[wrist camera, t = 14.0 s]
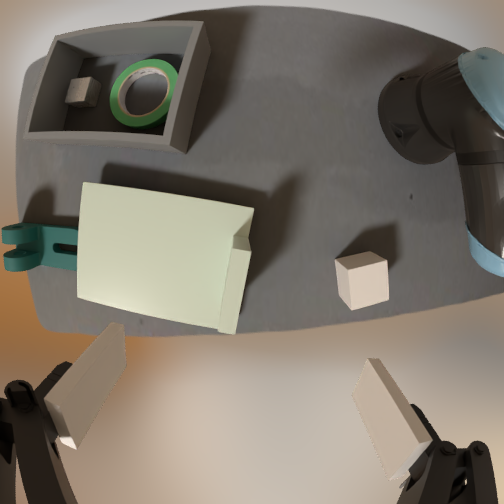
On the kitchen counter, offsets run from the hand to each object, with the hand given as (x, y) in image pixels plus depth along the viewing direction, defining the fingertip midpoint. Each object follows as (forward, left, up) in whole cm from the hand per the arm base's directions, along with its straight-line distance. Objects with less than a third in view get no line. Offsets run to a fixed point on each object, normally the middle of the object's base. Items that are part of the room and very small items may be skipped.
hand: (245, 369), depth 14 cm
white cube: (-17, 0, -28) cm, 33 cm away
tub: (+23, -21, -28) cm, 41 cm away
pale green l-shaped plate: (+13, +3, -27) cm, 30 cm away
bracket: (+33, +5, -28) cm, 44 cm away
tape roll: (+19, -21, -28) cm, 40 cm away
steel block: (+30, -21, -28) cm, 46 cm away
